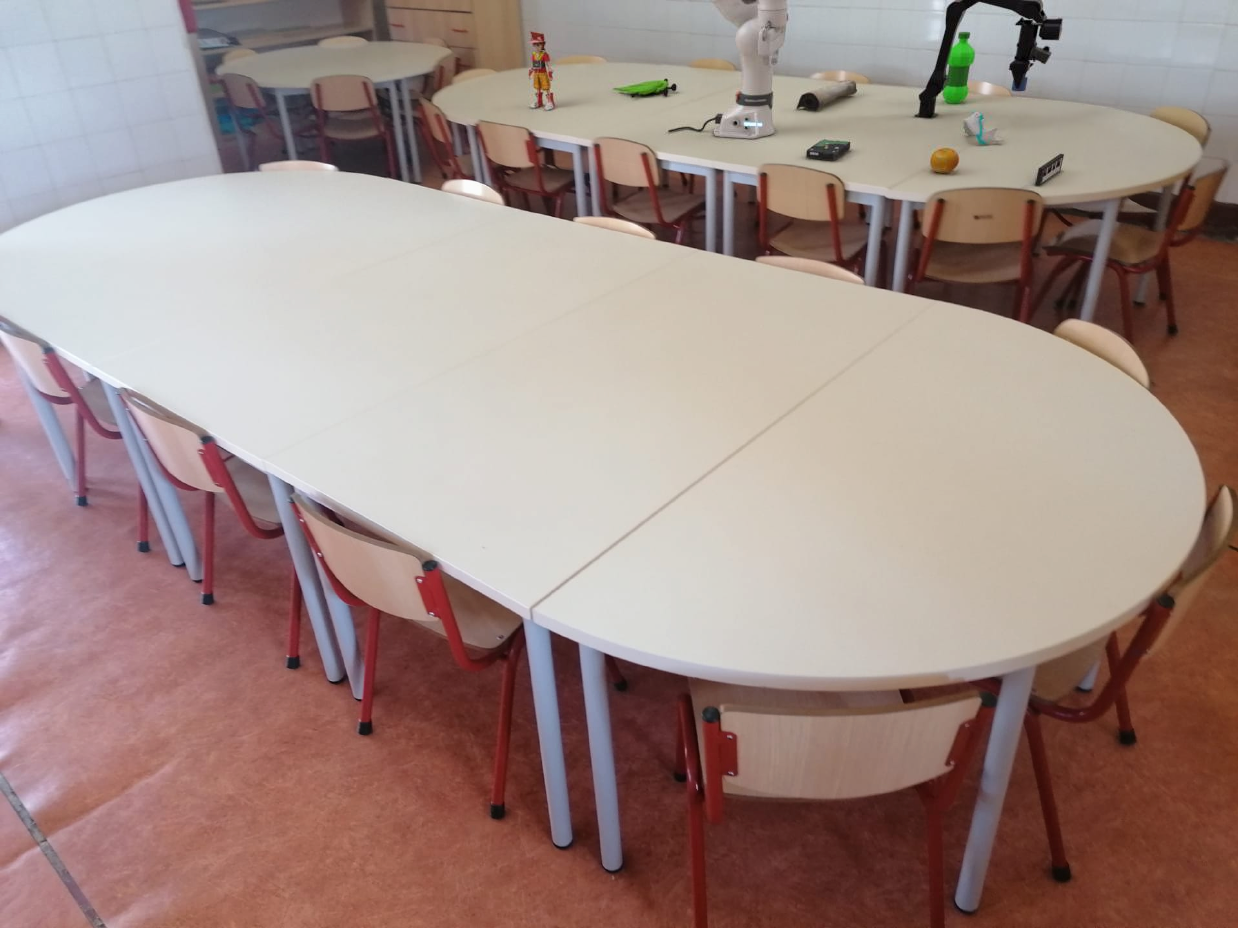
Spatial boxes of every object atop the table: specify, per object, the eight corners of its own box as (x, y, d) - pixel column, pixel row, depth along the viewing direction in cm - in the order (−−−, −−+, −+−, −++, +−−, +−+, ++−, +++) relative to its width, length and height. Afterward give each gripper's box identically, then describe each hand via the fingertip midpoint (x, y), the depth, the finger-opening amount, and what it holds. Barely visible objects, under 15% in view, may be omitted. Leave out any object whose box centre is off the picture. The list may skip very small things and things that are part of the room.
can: (1024, 88, 322) (1026, 76, 320) (1026, 91, 319) (1028, 79, 316) (1010, 88, 323) (1012, 76, 321) (1012, 91, 320) (1014, 79, 317)
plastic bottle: (973, 101, 354) (984, 32, 339) (955, 106, 349) (966, 36, 335) (952, 97, 361) (962, 29, 346) (934, 102, 356) (944, 33, 342)
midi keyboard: (1039, 185, 269) (1043, 168, 266) (1035, 184, 270) (1038, 168, 267) (1060, 170, 279) (1064, 154, 277) (1056, 169, 280) (1060, 153, 277)
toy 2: (686, 85, 398) (631, 84, 414) (685, 72, 395) (629, 72, 411) (651, 104, 381) (596, 103, 397) (650, 92, 378) (594, 91, 394)
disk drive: (834, 162, 299) (850, 149, 309) (835, 153, 297) (851, 141, 307) (805, 158, 304) (821, 146, 314) (806, 150, 302) (822, 138, 312)
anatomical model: (956, 110, 312) (985, 102, 311) (957, 139, 318) (985, 132, 317) (974, 121, 300) (1004, 113, 299) (974, 151, 306) (1003, 144, 305)
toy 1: (525, 109, 381) (517, 32, 364) (534, 104, 388) (527, 28, 371) (550, 110, 377) (543, 32, 360) (559, 105, 384) (553, 28, 367)
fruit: (924, 163, 281) (941, 140, 278) (925, 165, 289) (941, 143, 286) (946, 178, 280) (963, 155, 277) (947, 180, 288) (963, 158, 285)
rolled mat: (832, 85, 375) (848, 69, 367) (844, 103, 376) (861, 88, 367) (792, 103, 358) (809, 87, 350) (805, 122, 358) (822, 107, 350)
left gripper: (774, 25, 266) (772, 75, 273) (789, 13, 281) (787, 61, 289) (753, 25, 268) (752, 74, 275) (770, 13, 283) (768, 60, 291)
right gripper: (1048, 45, 302) (1038, 94, 310) (1056, 35, 315) (1046, 82, 323) (1013, 44, 306) (1004, 92, 315) (1022, 34, 319) (1014, 81, 328)
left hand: (770, 67), depth 282 cm, fingers open, 8 cm apart
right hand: (1018, 87), depth 320 cm, fingers closed on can, 5 cm apart
